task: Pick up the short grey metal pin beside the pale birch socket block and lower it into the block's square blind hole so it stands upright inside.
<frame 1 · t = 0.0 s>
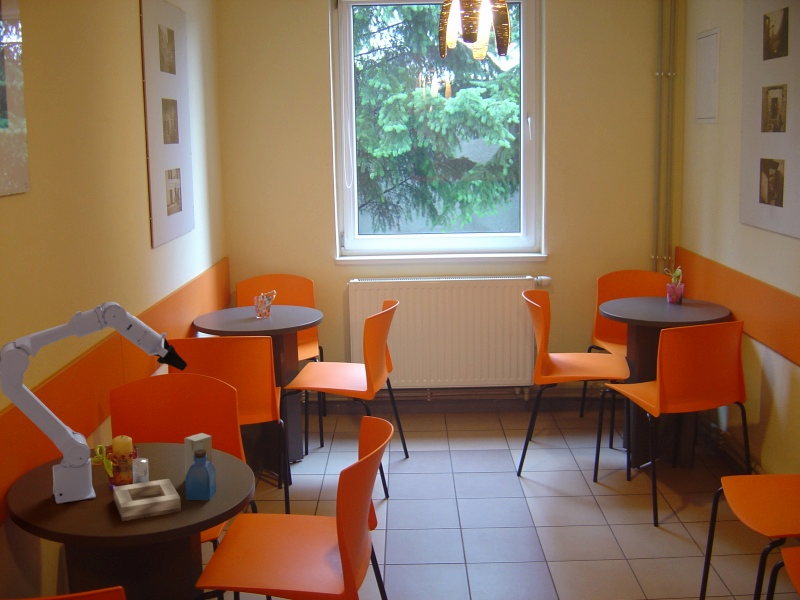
hand: (181, 364, 228), 32 cm above the table, tool tilted 50°, fingers open, 7 cm apart
perfume bottle: (201, 496, 223), on the table
socket block: (146, 505, 216), on the table
skincare box: (199, 480, 233), on the table
metal pin: (141, 485, 228), on the table
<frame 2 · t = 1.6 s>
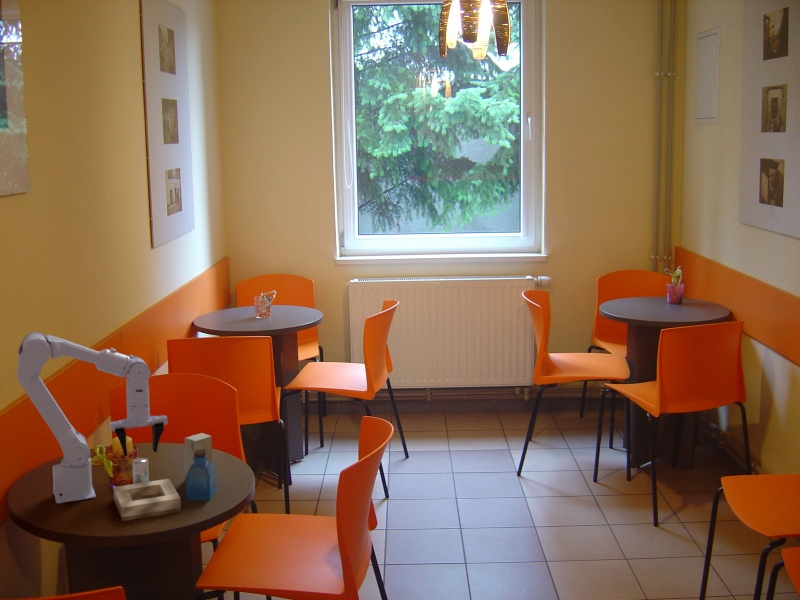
hand: (140, 453, 227), 9 cm above the table, tool pointing down, fingers open, 7 cm apart
nothing on the table moved.
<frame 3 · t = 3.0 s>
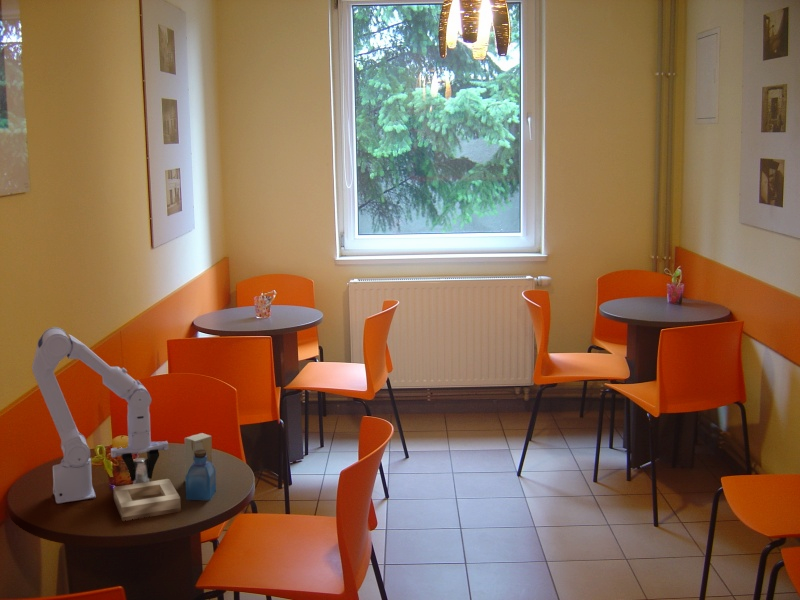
hand: (141, 478, 228), 2 cm above the table, tool pointing down, fingers closed on metal pin, 4 cm apart
metal pin: (141, 485, 228), on the table, touching gripper
everything else where it was.
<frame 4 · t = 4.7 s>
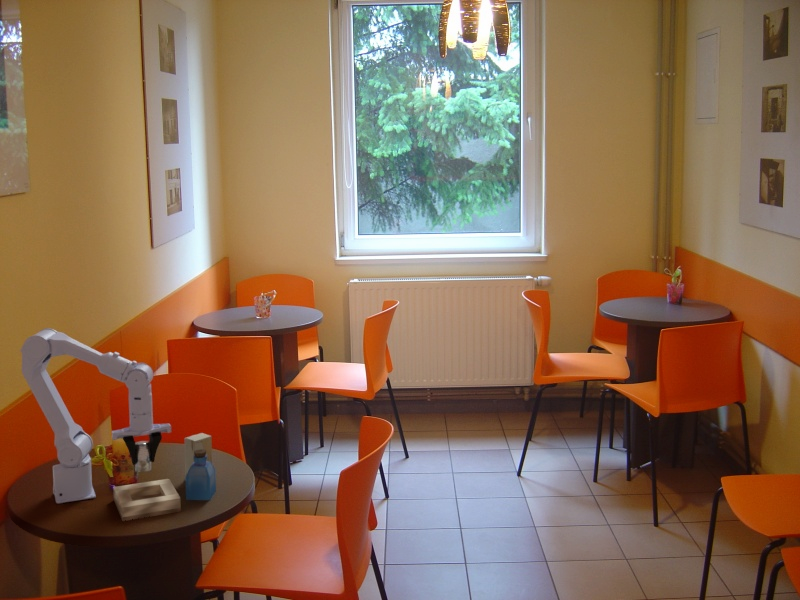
hand: (143, 462, 221), 9 cm above the table, tool pointing down, fingers closed on metal pin, 4 cm apart
metal pin: (143, 469, 221), point 7 cm above the table, touching gripper
everything else where it was.
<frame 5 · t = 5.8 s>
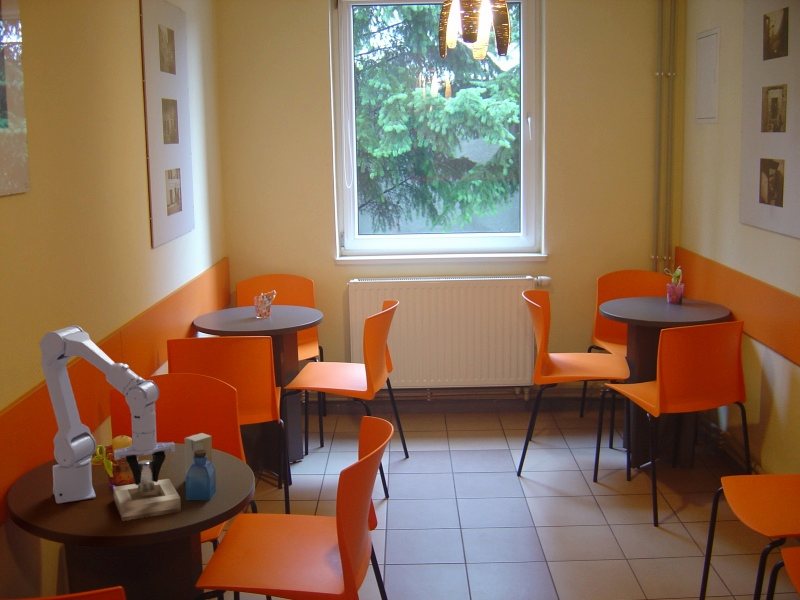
hand: (146, 482, 214), 6 cm above the table, tool pointing down, fingers closed on metal pin, 4 cm apart
metal pin: (146, 489, 215), point 4 cm above the table, touching gripper
everything else where it was.
when the fingers open (4 cm above the table, at t = 6.6 s): metal pin drops 1 cm, resting on socket block.
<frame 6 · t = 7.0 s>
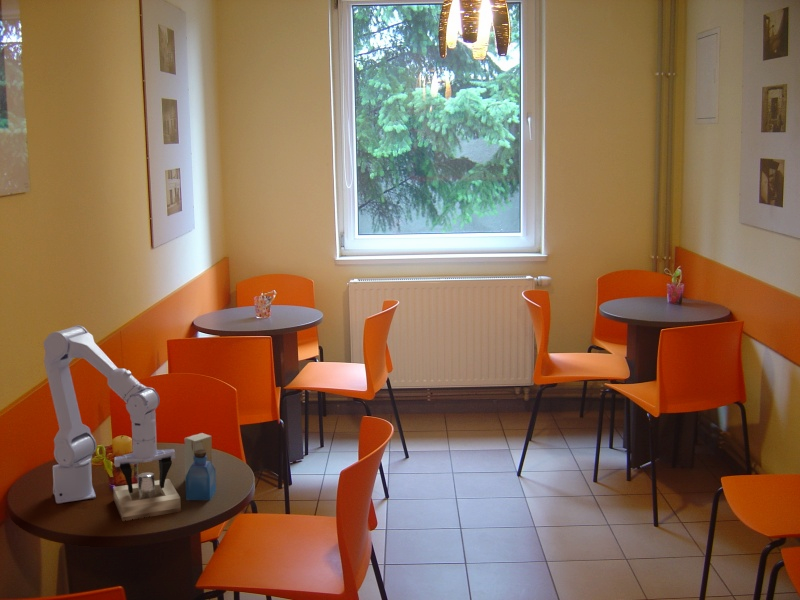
hand: (146, 489, 215), 4 cm above the table, tool pointing down, fingers open, 7 cm apart
metal pin: (146, 501, 215), point 1 cm above the table, touching socket block
everything else where it was.
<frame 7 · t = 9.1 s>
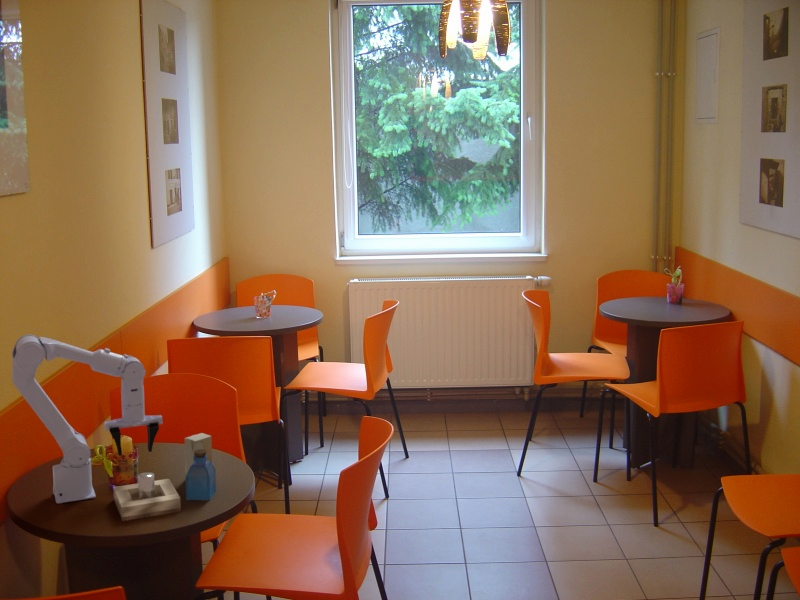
hand: (134, 452, 226), 9 cm above the table, tool pointing down, fingers open, 7 cm apart
nothing on the table moved.
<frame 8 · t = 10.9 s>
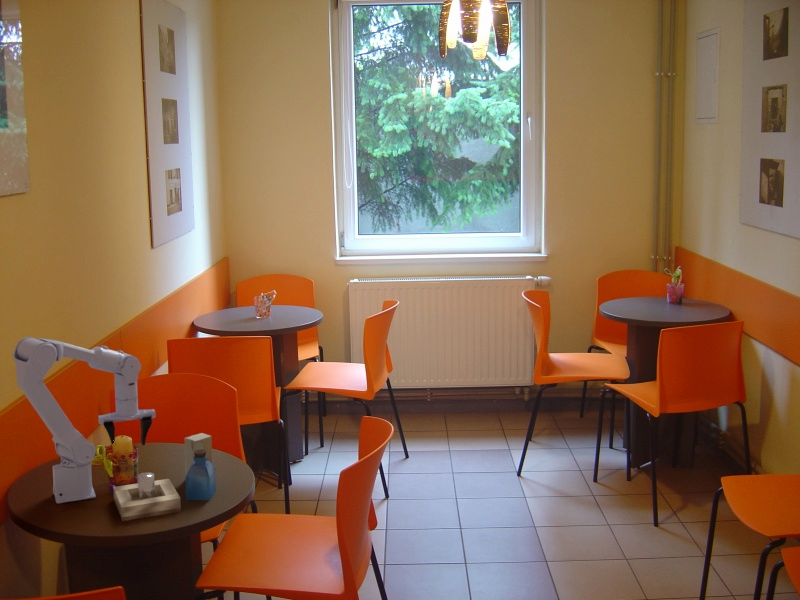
hand: (128, 445, 231), 9 cm above the table, tool pointing down, fingers open, 7 cm apart
nothing on the table moved.
at the end: metal pin 0.1 cm off-centre on the socket block, point 1.0 cm above the socket block's base; metal pin tilted 0°; the gripper is holding nothing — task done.
